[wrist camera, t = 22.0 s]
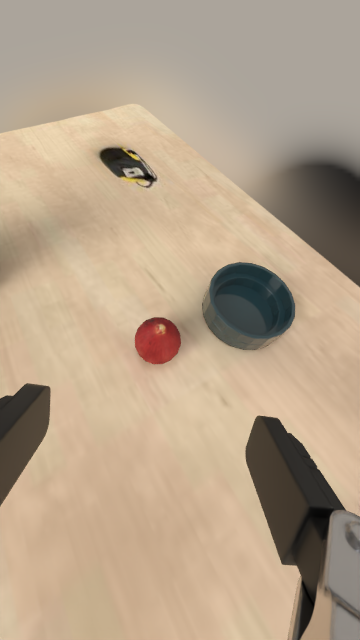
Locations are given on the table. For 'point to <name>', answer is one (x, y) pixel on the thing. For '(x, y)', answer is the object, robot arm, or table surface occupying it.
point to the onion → (157, 340)
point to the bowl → (248, 306)
